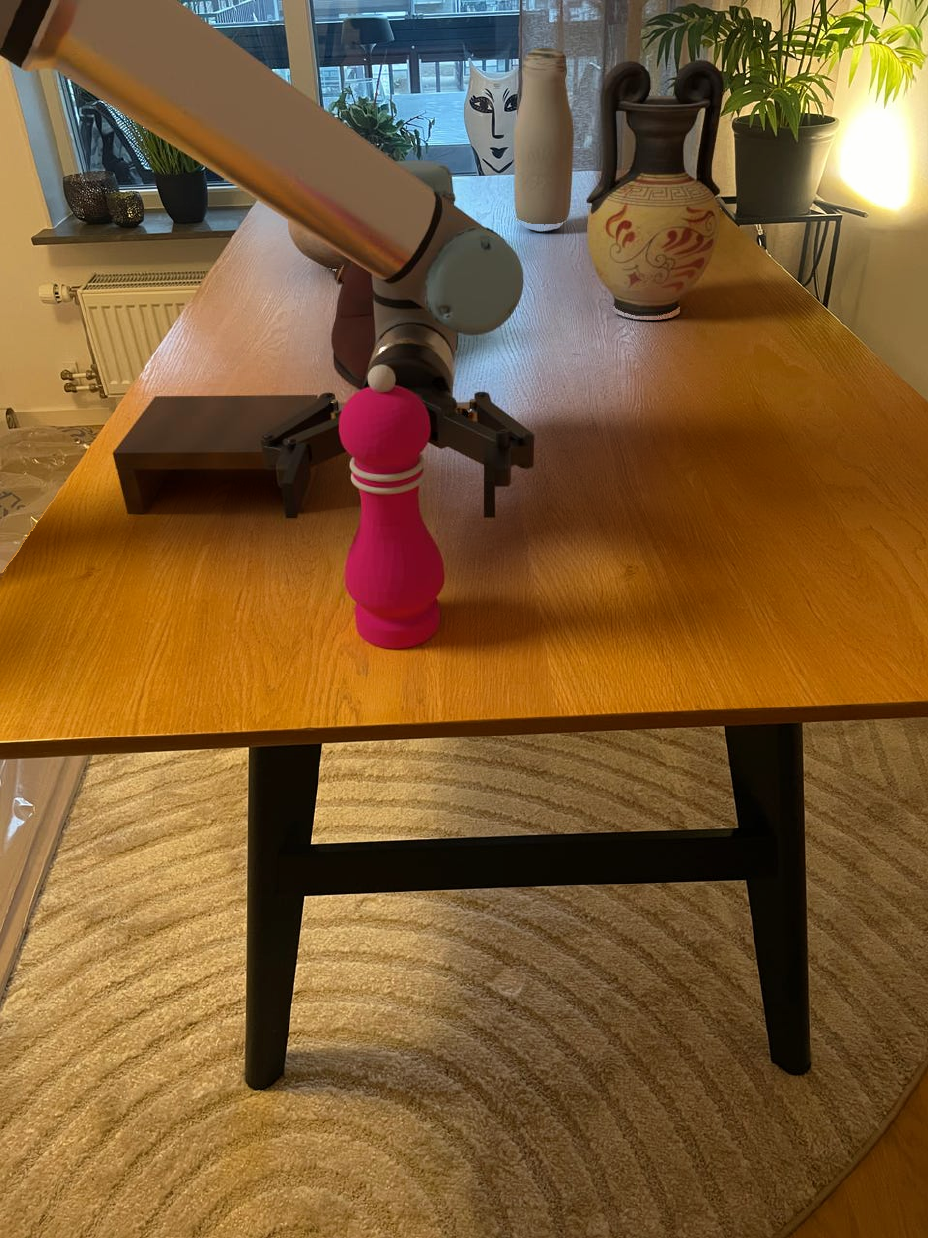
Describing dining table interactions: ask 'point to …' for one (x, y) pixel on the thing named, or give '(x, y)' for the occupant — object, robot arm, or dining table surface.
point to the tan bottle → (543, 140)
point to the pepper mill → (390, 516)
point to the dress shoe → (353, 324)
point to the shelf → (199, 439)
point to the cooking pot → (316, 248)
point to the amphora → (655, 189)
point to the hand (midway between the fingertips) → (389, 500)
